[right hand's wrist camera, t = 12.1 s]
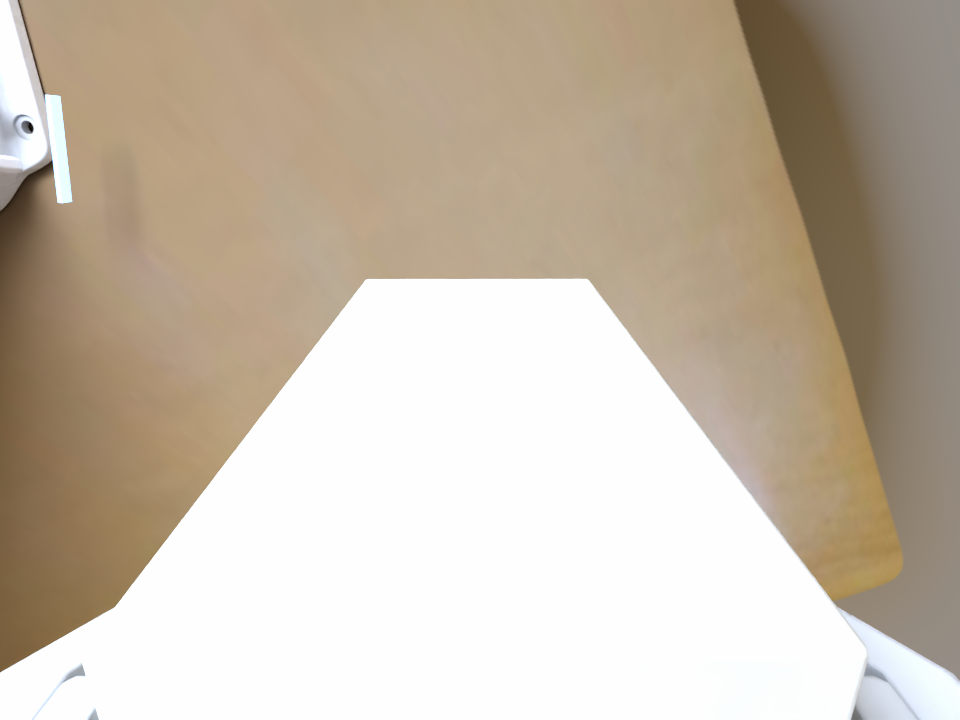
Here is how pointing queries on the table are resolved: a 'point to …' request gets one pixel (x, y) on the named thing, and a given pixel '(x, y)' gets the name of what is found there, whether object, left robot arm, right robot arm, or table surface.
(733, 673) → the box
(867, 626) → the right robot arm
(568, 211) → the table surface
